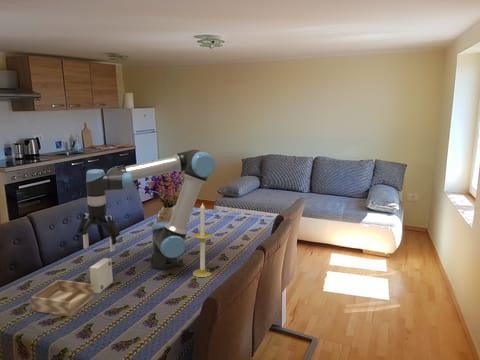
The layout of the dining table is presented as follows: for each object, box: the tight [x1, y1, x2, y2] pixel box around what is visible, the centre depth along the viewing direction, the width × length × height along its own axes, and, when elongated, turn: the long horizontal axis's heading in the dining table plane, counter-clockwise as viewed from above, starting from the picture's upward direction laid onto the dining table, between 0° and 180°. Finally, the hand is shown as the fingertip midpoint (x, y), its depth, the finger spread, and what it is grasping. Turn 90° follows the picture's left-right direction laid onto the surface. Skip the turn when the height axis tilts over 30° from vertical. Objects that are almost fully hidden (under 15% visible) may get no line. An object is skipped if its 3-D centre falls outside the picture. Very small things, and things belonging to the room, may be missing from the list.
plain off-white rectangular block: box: [89, 257, 114, 294], centre depth 169 cm, size 4×11×12 cm, turn 167°
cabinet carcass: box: [30, 279, 95, 317], centre depth 155 cm, size 18×16×6 cm
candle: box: [192, 202, 213, 278], centre depth 182 cm, size 10×10×38 cm
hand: (99, 249), depth 167 cm, fingers open, 13 cm apart
